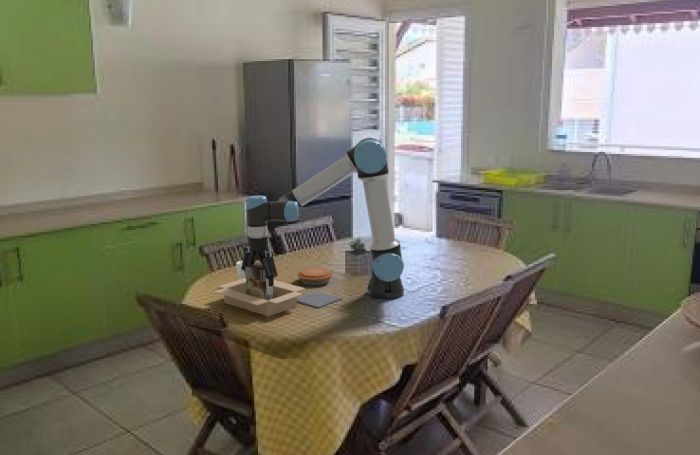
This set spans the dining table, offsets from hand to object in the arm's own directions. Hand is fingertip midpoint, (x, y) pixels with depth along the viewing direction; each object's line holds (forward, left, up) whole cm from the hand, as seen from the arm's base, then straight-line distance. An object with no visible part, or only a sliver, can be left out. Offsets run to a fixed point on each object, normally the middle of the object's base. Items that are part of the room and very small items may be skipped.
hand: (259, 291), depth 247 cm
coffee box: (0, 0, -6) cm, 6 cm away
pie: (+4, -36, -6) cm, 37 cm away
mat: (-14, -18, -5) cm, 23 cm away
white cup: (+24, -14, -6) cm, 28 cm away
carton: (0, 0, -6) cm, 6 cm away
